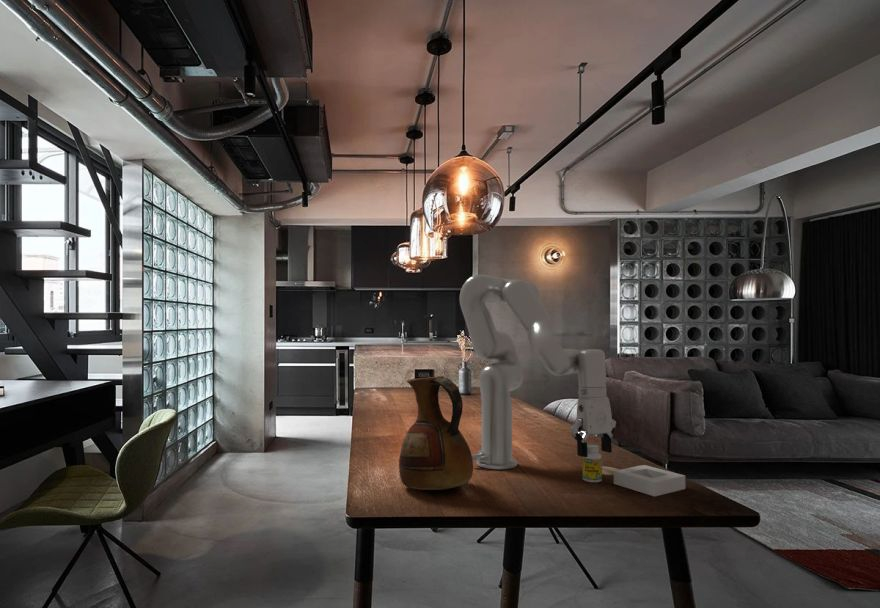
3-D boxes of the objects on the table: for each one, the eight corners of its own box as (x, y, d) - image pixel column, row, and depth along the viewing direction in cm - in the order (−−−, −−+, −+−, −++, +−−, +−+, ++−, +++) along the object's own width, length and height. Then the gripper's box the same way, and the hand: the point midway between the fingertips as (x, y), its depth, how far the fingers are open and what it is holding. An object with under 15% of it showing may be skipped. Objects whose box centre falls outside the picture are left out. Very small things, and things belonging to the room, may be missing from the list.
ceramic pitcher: (423, 473, 157) (424, 370, 158) (485, 484, 147) (486, 374, 148) (383, 491, 140) (384, 375, 142) (450, 504, 130) (451, 380, 131)
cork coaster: (612, 478, 156) (612, 475, 156) (584, 472, 162) (584, 470, 162) (625, 472, 162) (625, 470, 162) (598, 466, 168) (598, 464, 169)
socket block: (654, 496, 138) (654, 482, 138) (613, 483, 149) (613, 470, 149) (685, 488, 145) (685, 475, 145) (644, 477, 156) (644, 464, 156)
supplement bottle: (602, 478, 154) (602, 444, 154) (601, 483, 149) (601, 448, 149) (582, 476, 155) (582, 443, 156) (581, 481, 150) (581, 447, 151)
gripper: (580, 396, 145) (583, 460, 144) (623, 391, 154) (626, 452, 153) (560, 394, 152) (562, 455, 151) (603, 389, 161) (605, 448, 160)
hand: (594, 454), depth 152 cm, fingers open, 9 cm apart
